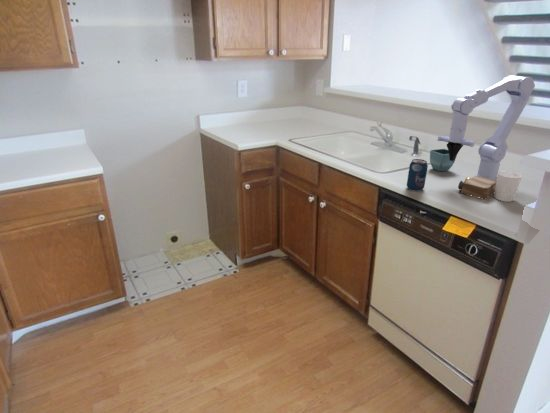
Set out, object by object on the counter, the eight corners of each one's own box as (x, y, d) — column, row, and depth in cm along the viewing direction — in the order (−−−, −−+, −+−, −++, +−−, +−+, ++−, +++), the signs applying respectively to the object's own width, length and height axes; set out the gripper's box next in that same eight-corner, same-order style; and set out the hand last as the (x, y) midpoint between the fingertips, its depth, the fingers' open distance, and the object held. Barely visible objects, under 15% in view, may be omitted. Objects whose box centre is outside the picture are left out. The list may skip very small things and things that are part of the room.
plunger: (461, 187, 159) (462, 179, 157) (486, 194, 152) (488, 185, 151) (457, 190, 156) (459, 181, 155) (482, 196, 150) (484, 187, 149)
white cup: (507, 194, 153) (513, 171, 149) (519, 202, 146) (526, 177, 142) (488, 194, 153) (493, 171, 149) (499, 202, 145) (505, 177, 141)
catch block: (473, 185, 162) (475, 175, 161) (496, 191, 156) (498, 180, 155) (461, 193, 154) (463, 182, 152) (484, 199, 148) (487, 188, 146)
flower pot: (440, 166, 188) (444, 148, 184) (454, 171, 180) (458, 152, 177) (426, 168, 185) (429, 149, 181) (439, 173, 177) (443, 154, 174)
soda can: (417, 193, 154) (421, 164, 150) (402, 188, 160) (406, 160, 155) (427, 189, 158) (432, 161, 153) (412, 184, 163) (417, 157, 159)
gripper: (436, 127, 159) (431, 158, 165) (472, 132, 150) (465, 165, 155) (444, 124, 164) (438, 155, 169) (479, 130, 154) (472, 162, 160)
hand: (452, 160), depth 162 cm, fingers closed
